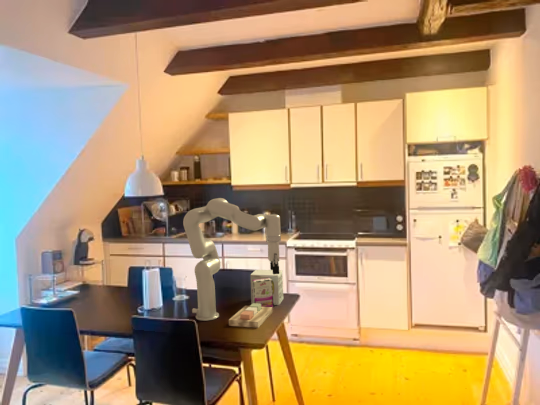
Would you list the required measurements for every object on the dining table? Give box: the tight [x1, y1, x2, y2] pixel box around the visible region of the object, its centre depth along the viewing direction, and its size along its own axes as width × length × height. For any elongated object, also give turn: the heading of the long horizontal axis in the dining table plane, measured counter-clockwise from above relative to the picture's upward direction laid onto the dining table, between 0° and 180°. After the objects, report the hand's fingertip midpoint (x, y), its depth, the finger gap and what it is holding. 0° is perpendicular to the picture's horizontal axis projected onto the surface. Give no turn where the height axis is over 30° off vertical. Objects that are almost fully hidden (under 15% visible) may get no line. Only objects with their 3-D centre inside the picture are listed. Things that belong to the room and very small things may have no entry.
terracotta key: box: [240, 311, 253, 320], centre depth 231 cm, size 5×5×3 cm
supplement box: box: [250, 269, 284, 306], centre depth 267 cm, size 17×13×18 cm
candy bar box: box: [252, 278, 274, 308], centre depth 256 cm, size 11×5×16 cm, turn 105°
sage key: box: [249, 303, 261, 311], centre depth 244 cm, size 5×5×3 cm
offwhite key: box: [245, 307, 257, 316], centre depth 237 cm, size 5×5×3 cm
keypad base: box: [228, 305, 273, 329], centre depth 237 cm, size 16×24×3 cm, turn 162°
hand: (274, 271), depth 228 cm, fingers open, 9 cm apart
